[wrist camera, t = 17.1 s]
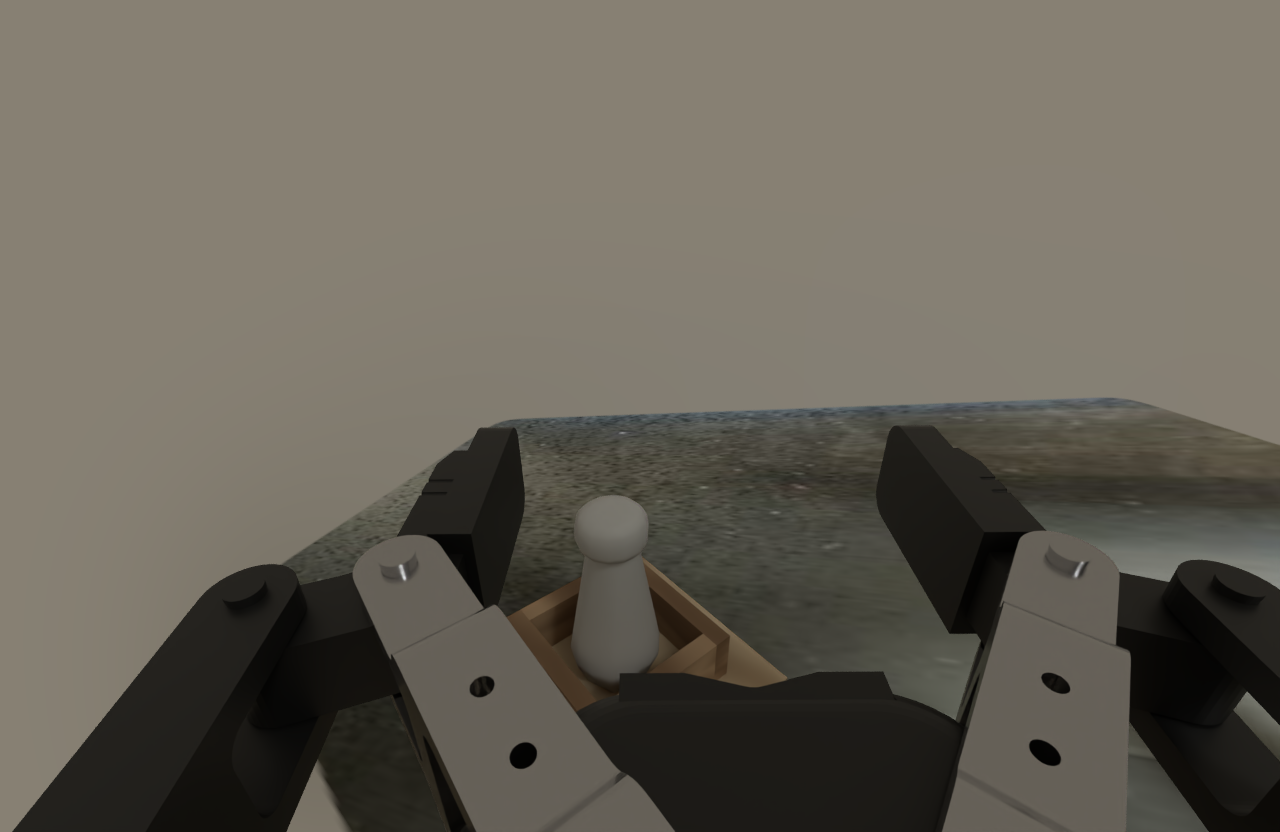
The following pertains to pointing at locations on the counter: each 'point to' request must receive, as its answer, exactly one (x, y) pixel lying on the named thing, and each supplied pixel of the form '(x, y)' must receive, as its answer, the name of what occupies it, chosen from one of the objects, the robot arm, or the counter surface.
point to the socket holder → (683, 641)
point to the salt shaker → (613, 593)
